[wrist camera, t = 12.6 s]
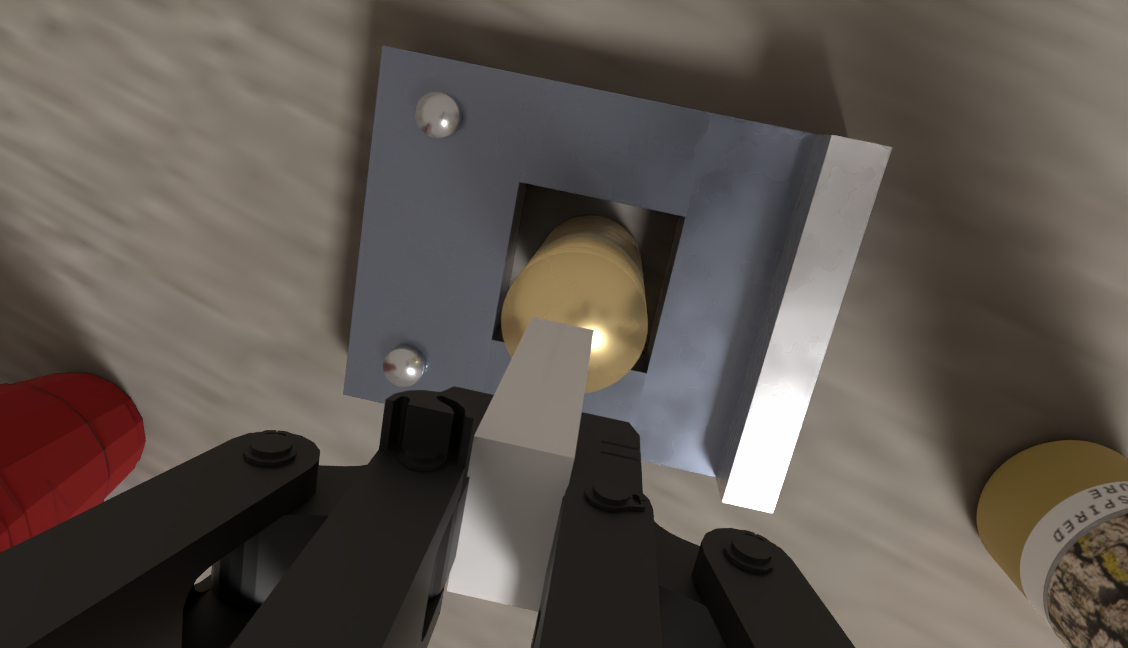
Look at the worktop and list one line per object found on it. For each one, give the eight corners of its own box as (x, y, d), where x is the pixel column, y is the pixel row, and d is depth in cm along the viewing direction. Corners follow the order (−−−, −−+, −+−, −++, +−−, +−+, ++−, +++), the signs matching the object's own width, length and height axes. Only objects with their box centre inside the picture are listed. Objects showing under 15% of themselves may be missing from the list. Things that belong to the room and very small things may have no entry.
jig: (850, 143, 27) (892, 147, 23) (752, 459, 31) (772, 513, 27) (403, 52, 28) (361, 38, 23) (365, 374, 32) (323, 413, 27)
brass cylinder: (652, 226, 29) (662, 268, 20) (629, 326, 30) (630, 406, 21) (548, 205, 29) (514, 238, 20) (530, 305, 30) (490, 377, 21)
